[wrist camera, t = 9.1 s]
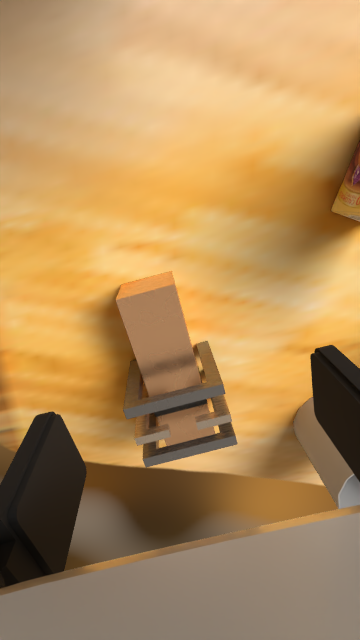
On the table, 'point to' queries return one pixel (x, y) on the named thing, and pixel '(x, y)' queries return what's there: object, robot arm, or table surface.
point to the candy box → (350, 190)
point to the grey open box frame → (145, 406)
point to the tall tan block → (163, 350)
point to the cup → (326, 458)
